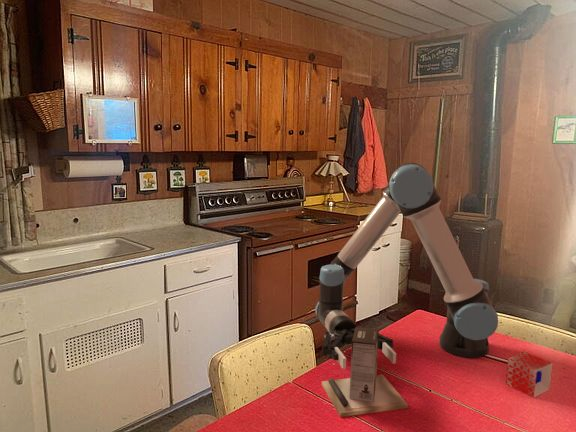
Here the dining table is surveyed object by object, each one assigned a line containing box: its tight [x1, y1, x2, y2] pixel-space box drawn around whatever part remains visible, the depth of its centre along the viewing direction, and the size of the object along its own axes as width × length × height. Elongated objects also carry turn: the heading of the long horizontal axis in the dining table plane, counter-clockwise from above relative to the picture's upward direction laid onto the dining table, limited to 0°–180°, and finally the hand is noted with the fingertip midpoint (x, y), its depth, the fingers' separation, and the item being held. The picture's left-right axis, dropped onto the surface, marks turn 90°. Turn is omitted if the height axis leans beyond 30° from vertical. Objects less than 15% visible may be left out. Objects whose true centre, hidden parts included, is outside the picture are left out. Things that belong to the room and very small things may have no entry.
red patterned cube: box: [505, 351, 553, 398], centre depth 125 cm, size 8×8×8 cm
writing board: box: [321, 374, 409, 418], centre depth 120 cm, size 18×15×3 cm
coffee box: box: [349, 326, 380, 402], centre depth 119 cm, size 9×6×16 cm
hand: (369, 361), depth 115 cm, fingers open, 13 cm apart
